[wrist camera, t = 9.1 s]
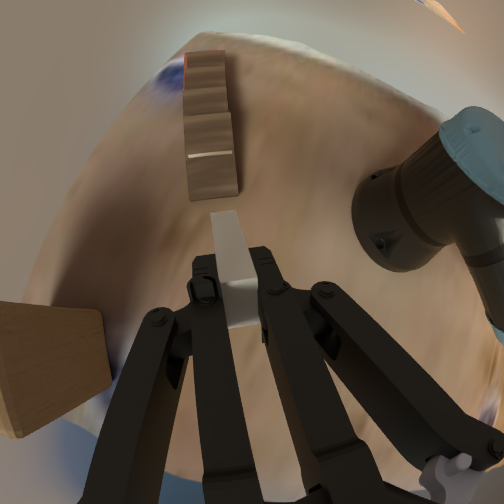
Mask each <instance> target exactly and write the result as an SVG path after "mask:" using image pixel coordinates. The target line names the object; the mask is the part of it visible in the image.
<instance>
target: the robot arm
mask: <svg viewBox="0 0 504 504" xmlns="http://www.w3.org/2000/svg"><path fill="white" fill-rule="evenodd" d="M210 215H211V223H212V231H213V239H214V247H215V254H209V255H202V256H196V258H195V259H194V261H193V262H192V275H193V276H192V278H191V279H190V281H189V282H188V283H187V290H188V294H189V298H190V303H189V304H188V305H187V306H185V307H184V308H182V309H180V310H177V311H175V312H173V311H172V310H170V309H169V308H165V307H160V308H155V309H153V310H151V311H149V312H148V313H147V314H146V316H145V317H144V319H143V321H142V323H141V326H140V328H139V330H138V333H137V335H136V337H135V340H134V342H133V345H132V347H131V349H130V352H129V354H128V357H127V359H126V362H125V364H124V367H123V369H122V372H121V375H120V377H119V380H118V383H117V385H116V388H115V391H114V393H113V396H112V399H111V402H110V405H109V407H108V410H107V413H106V416H105V419H104V422H103V425H102V428H101V431H100V434H99V438H98V441H97V444H96V447H95V451H94V454H93V458H92V461H91V465H90V469H89V472H88V476H87V480H86V484H85V488H84V492H83V496H82V498H81V499H80V501H79V502H78V503H77V504H158V501H159V496H160V490H161V484H162V479H163V473H164V469H165V463H166V458H167V453H168V449H169V444H170V439H171V434H172V429H173V425H174V420H175V416H176V411H177V407H178V402H179V398H180V393H181V389H182V385H183V381H184V376H185V372H186V368H187V364H188V360H189V356H191V355H193V369H194V383H195V395H196V406H197V417H198V426H199V435H200V444H201V452H202V459H203V466H204V474H203V478H202V485H203V493H204V499H205V504H469V503H470V501H471V499H472V497H473V495H474V493H475V491H476V489H477V487H478V485H479V483H480V481H481V478H482V476H483V474H484V471H485V470H486V469H487V468H489V467H491V466H493V465H495V464H497V463H499V462H500V461H501V460H502V459H503V458H504V434H503V433H502V432H501V431H499V430H497V429H495V428H493V427H491V426H489V425H487V424H485V423H483V422H481V421H479V420H477V419H475V418H473V417H471V416H469V415H467V414H465V413H464V411H463V410H462V409H461V408H460V407H459V406H458V405H457V404H456V403H455V402H454V401H453V399H452V398H451V397H450V396H449V395H448V394H447V393H446V392H445V391H444V390H443V389H442V388H441V387H440V386H439V385H438V384H437V383H436V381H435V380H434V379H433V378H432V377H431V376H430V375H429V374H428V373H427V372H426V371H425V370H424V369H423V368H422V367H421V366H420V365H419V364H418V363H417V362H416V361H415V360H414V359H413V358H412V357H411V356H410V355H409V354H408V353H407V352H406V351H405V350H404V349H403V348H402V347H401V346H400V345H399V344H398V343H397V342H396V341H395V340H394V339H393V338H392V337H391V336H390V335H389V334H388V333H387V332H386V331H385V330H384V329H383V328H382V327H381V326H380V325H379V324H378V323H377V322H376V321H375V320H374V319H373V318H372V317H371V316H370V315H369V314H368V313H367V312H366V311H365V310H363V309H362V308H361V307H360V306H359V305H358V304H357V303H356V302H355V301H354V300H353V299H352V298H351V297H350V296H349V295H348V294H347V293H346V292H345V291H343V290H342V289H341V288H340V287H339V286H338V285H336V284H335V283H332V282H328V281H322V282H317V283H316V284H314V285H313V286H312V288H311V290H300V289H295V288H292V287H291V285H290V284H289V283H288V282H286V281H284V279H283V277H282V275H281V273H280V270H279V268H278V266H277V264H276V261H275V259H274V258H273V255H272V253H271V251H270V250H269V249H268V248H266V247H265V246H261V247H254V248H248V247H247V244H246V241H245V238H244V234H243V231H242V228H241V225H240V222H239V219H238V216H237V213H236V210H228V211H221V212H213V213H210ZM352 221H353V226H354V230H355V233H356V235H357V238H358V240H359V242H360V244H361V246H362V247H363V249H364V250H365V252H366V253H367V254H368V255H369V256H370V258H371V259H372V260H373V261H375V262H376V263H377V264H378V265H380V266H381V267H383V268H385V269H387V270H390V271H393V272H408V271H411V270H415V269H418V268H420V267H422V266H424V265H425V264H427V263H428V262H429V261H430V260H431V259H432V258H433V257H434V256H435V255H436V254H437V253H438V252H439V251H440V250H441V249H442V248H443V247H444V246H446V245H449V244H451V243H456V245H457V247H458V248H459V250H460V252H461V254H462V256H463V258H464V260H465V263H466V264H467V267H468V269H469V271H470V273H471V275H472V278H473V280H474V282H475V285H476V287H477V290H478V292H479V295H480V297H481V300H482V302H483V305H484V308H485V313H486V317H487V319H488V321H489V323H490V324H491V325H492V328H493V330H494V333H495V335H496V337H497V339H498V340H499V342H501V343H502V344H503V345H504V122H503V121H502V120H501V119H500V118H498V117H497V116H496V115H494V114H493V113H491V112H490V111H488V110H486V109H484V108H481V107H476V106H471V107H467V108H464V109H463V110H462V111H460V112H459V113H458V114H457V115H455V116H454V117H453V118H452V119H450V120H448V121H445V122H444V123H443V124H442V125H441V126H440V129H439V131H438V132H437V133H436V134H435V135H434V136H433V137H431V138H430V139H429V140H428V141H427V142H426V143H425V144H424V145H422V146H421V147H420V148H419V149H418V150H417V151H416V152H415V153H413V154H412V155H411V156H410V157H409V158H408V159H407V160H406V161H404V162H403V163H402V164H400V165H397V166H393V167H390V168H386V169H382V170H379V171H377V172H375V173H373V174H371V175H370V176H369V177H367V178H366V179H365V180H364V181H363V182H362V183H361V184H360V186H359V187H358V188H357V190H356V192H355V194H354V197H353V201H352ZM259 318H260V320H259ZM260 322H261V327H262V343H265V346H266V350H267V353H268V357H269V361H270V364H271V368H272V371H273V375H274V378H275V382H276V385H277V389H278V392H279V396H280V399H281V403H282V406H283V410H284V413H285V416H286V420H287V423H288V427H289V430H290V434H291V437H292V440H293V444H294V447H295V451H296V454H297V457H298V461H299V464H300V468H301V476H302V481H303V485H304V488H305V492H306V495H307V496H305V497H303V498H301V499H299V500H297V501H295V502H264V500H263V496H262V492H261V488H260V484H259V480H258V476H257V471H256V467H255V463H254V458H253V454H252V450H251V445H250V440H249V436H248V431H247V427H246V422H245V417H244V412H243V407H242V402H241V397H240V392H239V387H238V382H237V377H236V371H235V366H234V360H233V355H232V349H231V344H230V338H229V332H228V329H231V328H237V327H244V326H250V325H256V324H260ZM323 358H324V359H323ZM324 360H325V361H326V362H327V363H328V365H329V366H330V367H331V368H332V370H333V371H334V372H335V373H336V375H337V376H338V377H339V378H340V380H341V381H342V382H343V383H344V385H345V386H346V387H347V388H348V390H349V391H350V392H351V393H352V395H353V396H354V397H355V398H356V400H357V401H358V402H359V403H360V405H361V406H362V407H363V408H364V410H365V411H366V412H367V413H368V415H369V416H370V417H371V418H372V419H373V421H374V422H375V423H376V424H377V426H378V427H379V428H380V429H381V431H382V432H383V433H384V434H385V435H386V437H387V438H388V439H389V440H390V442H391V443H392V444H393V445H394V447H395V448H396V449H397V450H398V451H399V453H400V454H401V455H402V456H403V457H404V458H405V459H406V460H407V461H408V462H409V463H410V464H412V465H413V466H414V467H415V468H417V469H419V470H420V471H422V474H421V476H420V478H419V483H420V485H421V486H423V487H424V488H426V489H427V490H428V491H429V493H430V495H431V500H428V499H425V498H423V497H420V496H418V495H415V494H412V493H410V492H408V491H406V490H403V489H401V488H399V487H396V486H394V485H392V484H390V483H388V482H385V481H383V480H382V477H381V475H380V472H379V470H378V467H377V465H376V463H375V460H374V458H373V455H372V453H371V451H370V449H369V447H368V445H367V444H366V443H365V442H364V441H363V440H361V439H359V438H358V437H357V436H356V434H355V432H354V429H353V427H352V424H351V422H350V420H349V417H348V415H347V412H346V410H345V408H344V405H343V403H342V401H341V398H340V396H339V393H338V391H337V389H336V386H335V384H334V382H333V379H332V377H331V375H330V372H329V370H328V368H327V365H326V363H325V361H324Z"/></svg>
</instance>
